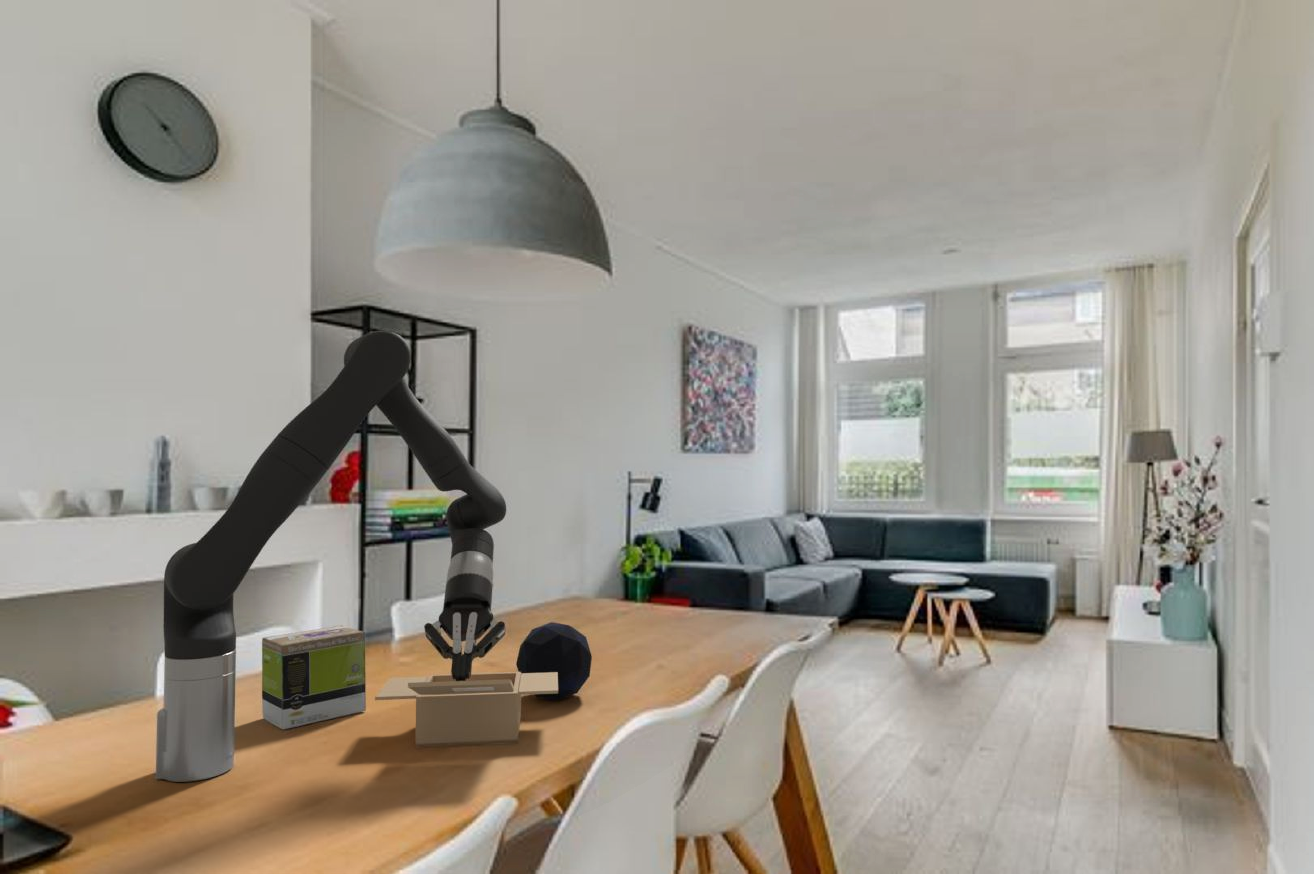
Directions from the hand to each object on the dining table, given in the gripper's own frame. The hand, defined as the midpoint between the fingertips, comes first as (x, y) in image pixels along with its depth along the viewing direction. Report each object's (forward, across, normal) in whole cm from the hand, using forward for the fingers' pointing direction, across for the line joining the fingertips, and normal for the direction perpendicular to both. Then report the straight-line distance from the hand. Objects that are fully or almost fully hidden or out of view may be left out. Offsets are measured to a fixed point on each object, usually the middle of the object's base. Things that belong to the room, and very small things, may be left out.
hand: (460, 679), depth 121 cm
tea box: (-12, -29, +30) cm, 43 cm away
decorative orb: (-16, +14, +34) cm, 40 cm away
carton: (-3, 0, +21) cm, 21 cm away
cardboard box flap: (-4, 0, +10) cm, 11 cm away
